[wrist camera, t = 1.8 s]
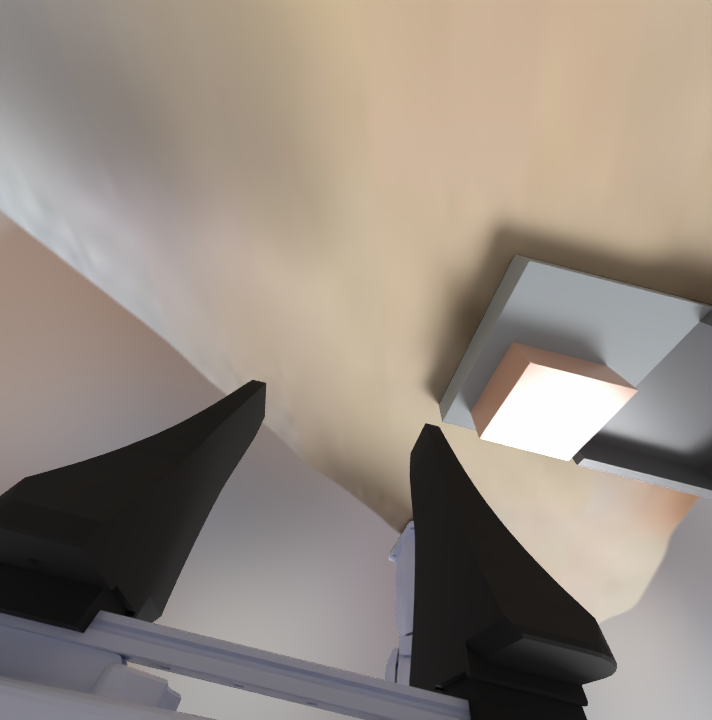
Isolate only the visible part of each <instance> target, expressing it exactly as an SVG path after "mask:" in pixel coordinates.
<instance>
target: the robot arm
mask: <svg viewBox="0 0 712 720" xmlns="http://www.w3.org/2000/svg"><path fill="white" fill-rule="evenodd" d="M265 398H266V383H264V382H260V381H256V380H251V381H250V382H248V383H247V384H245V385H243V386H242V387H240V388H239V389H237V390H236V391H234V392H233V393H231V394H229V395H228V396H226V397H225V398H223V399H221V400H220V401H218V402H217V403H215V404H213V405H212V406H210V407H208V408H207V409H205V410H203V411H201V412H199V413H198V414H196V415H194V416H192V417H190V418H189V419H187V420H185V421H183V422H181V423H179V424H177V425H175V426H173V427H171V428H169V429H166V430H164V431H162V432H160V433H158V434H155V435H153V436H151V437H148V438H145V439H143V440H141V441H138V442H135V443H133V444H131V445H128V446H126V447H123V448H120V449H117V450H115V451H112V452H109V453H106V454H103V455H100V456H97V457H94V458H91V459H88V460H85V461H82V462H78V463H75V464H72V465H68V466H65V467H61V468H58V469H54V470H51V471H48V472H44V473H40V474H37V475H33V476H29V477H25V478H24V479H22V480H21V481H20V482H18V483H17V484H16V485H14V486H13V487H12V488H10V489H9V490H8V491H6V492H5V493H4V494H2V495H1V496H0V720H216V719H211V718H206V717H202V716H197V715H192V714H187V713H182V712H177V711H176V710H177V707H178V705H179V703H180V700H181V696H180V694H179V693H177V692H175V691H173V690H172V689H170V688H169V687H168V682H167V680H166V679H163V678H160V677H157V676H155V675H152V674H149V673H146V672H143V671H140V670H137V669H134V668H132V667H128V665H127V662H131V663H136V664H140V665H144V666H148V667H152V668H156V669H160V670H164V671H168V672H172V673H177V674H181V675H185V676H189V677H193V678H197V679H201V680H205V681H209V682H213V683H217V684H221V685H225V686H230V687H234V688H238V689H242V690H247V691H250V692H255V693H259V694H262V695H266V696H270V697H275V698H279V699H283V700H287V701H291V702H295V703H299V704H303V705H307V706H311V707H315V708H320V709H324V710H328V711H332V712H336V713H340V714H344V715H348V716H352V717H357V718H360V719H364V720H587V719H586V716H585V713H584V711H583V707H582V706H588V701H587V698H586V695H585V693H584V690H583V688H582V685H583V684H586V683H590V682H593V681H597V680H600V679H604V678H606V677H609V676H611V675H612V674H613V673H614V672H615V671H616V669H617V663H616V661H615V659H614V657H613V654H612V653H611V650H610V648H609V646H608V644H607V642H606V640H605V638H604V636H603V634H602V631H601V629H600V627H599V625H598V623H597V621H596V619H595V618H594V617H593V616H592V615H591V614H590V613H589V612H588V611H587V610H585V609H584V608H583V607H582V606H581V605H580V604H579V603H578V602H577V601H576V600H575V599H574V598H573V597H572V596H571V595H570V594H568V593H567V592H566V591H565V590H564V589H563V588H562V587H561V586H560V585H559V584H558V583H557V582H556V581H555V580H554V579H553V578H552V577H551V576H550V575H549V574H548V573H547V572H546V571H545V570H544V569H543V568H542V567H541V566H540V565H539V564H538V563H537V562H536V561H535V560H534V558H533V557H532V556H531V555H530V554H529V553H528V552H527V551H526V550H525V549H524V548H523V546H522V545H521V544H520V543H519V542H518V541H517V540H516V538H515V537H514V536H513V535H512V534H511V533H510V532H509V530H508V529H507V528H506V527H505V526H504V524H503V523H502V522H501V521H500V519H499V518H498V517H497V516H496V514H495V513H494V512H493V510H492V509H491V508H490V507H489V505H488V504H487V503H486V501H485V500H484V499H483V497H482V496H481V494H480V493H479V491H478V490H477V488H476V487H475V486H474V484H473V483H472V481H471V480H470V478H469V477H468V475H467V473H466V472H465V470H464V469H463V467H462V465H461V464H460V462H459V461H458V459H457V457H456V455H455V454H454V452H453V450H452V449H451V447H450V445H449V443H448V442H447V440H446V438H445V436H444V434H443V433H442V431H441V429H440V428H439V427H438V426H434V425H430V424H426V423H425V425H424V427H423V429H422V431H421V433H420V435H419V438H418V440H417V442H416V444H415V446H414V448H413V450H412V452H411V456H410V485H411V497H412V508H413V520H414V521H410V522H409V523H408V525H407V526H406V528H405V529H404V531H403V533H402V534H401V536H400V538H399V539H398V541H397V542H396V544H395V546H394V547H393V549H392V550H391V552H390V554H389V556H388V558H389V560H391V561H395V562H396V623H397V627H398V631H399V633H400V635H401V636H399V648H394V649H393V651H392V653H391V655H390V656H389V659H388V661H387V665H386V672H385V680H382V679H378V678H374V677H370V676H366V675H362V674H358V673H354V672H350V671H346V670H342V669H338V668H334V667H329V666H325V665H321V664H317V663H313V662H309V661H305V660H301V659H296V658H293V657H289V656H285V655H281V654H276V653H272V652H268V651H264V650H260V649H256V648H252V647H248V646H244V645H240V644H236V643H232V642H228V641H224V640H220V639H215V638H212V637H207V636H203V635H199V634H195V633H191V632H187V631H183V630H179V629H175V628H171V627H167V626H163V625H159V624H155V623H152V622H154V621H155V620H156V619H158V618H159V617H160V616H161V615H162V613H163V611H164V608H165V606H166V604H167V601H168V599H169V597H170V595H171V592H172V590H173V588H174V586H175V584H176V581H177V579H178V577H179V575H180V573H181V570H182V568H183V566H184V564H185V562H186V560H187V558H188V556H189V553H190V551H191V549H192V547H193V545H194V543H195V541H196V539H197V537H198V535H199V533H200V531H201V529H202V527H203V525H204V523H205V521H206V519H207V517H208V515H209V513H210V511H211V509H212V507H213V505H214V503H215V501H216V499H217V497H218V495H219V494H220V492H221V490H222V488H223V487H224V485H225V483H226V482H227V480H228V478H229V477H230V475H231V474H232V472H233V471H234V469H235V468H236V466H237V464H238V463H239V461H240V460H241V458H242V457H243V455H244V454H245V452H246V450H247V449H248V447H249V446H250V444H251V442H252V441H253V439H254V437H255V436H256V434H257V432H258V430H259V428H260V426H261V423H262V421H263V419H264V417H265ZM126 661H127V662H126Z"/></svg>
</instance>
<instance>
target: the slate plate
mask: <svg viewBox="0 0 712 720" xmlns="http://www.w3.org/2000/svg"><path fill="white" fill-rule="evenodd" d="M711 309H712V307H709V306H706V305H703V304H700V303H697V302H694V301H691V300H688V299H685V298H682V297H679V296H675V295H672V294H668V293H664V292H660V291H656V290H652V289H648V288H644V287H640V286H636V285H633V284H629V283H625V282H621V281H617V280H613V279H609V278H605V277H601V276H598V275H594V274H590V273H586V272H582V271H578V270H574V269H570V268H566V267H562V266H559V265H555V264H551V263H547V262H543V261H539V260H535V259H531V258H527V257H523V256H520V255H516V254H515V255H514V257H513V259H512V261H511V263H510V265H509V267H508V269H507V271H506V273H505V275H504V277H503V279H502V281H501V283H500V285H499V287H498V289H497V291H496V293H495V295H494V297H493V299H492V301H491V303H490V305H489V307H488V309H487V311H486V313H485V315H484V317H483V318H482V320H481V322H480V324H479V326H478V328H477V330H476V332H475V334H474V336H473V338H472V340H471V342H470V344H469V346H468V348H467V350H466V352H465V354H464V356H463V358H462V360H461V362H460V364H459V366H458V368H457V370H456V372H455V374H454V376H453V378H452V380H451V382H450V384H449V386H448V388H447V390H446V392H445V394H444V396H443V398H442V399H441V401H440V403H439V408H440V413H441V417H442V422H445V423H449V424H453V425H457V426H461V427H464V428H468V429H472V430H476V428H475V425H474V422H473V419H472V416H471V413H470V412H471V410H472V409H473V407H474V405H475V404H476V402H477V400H478V399H479V397H480V395H481V394H482V392H483V390H484V389H485V387H486V385H487V384H488V382H489V380H490V379H491V377H492V375H493V374H494V372H495V370H496V369H497V367H498V365H499V364H500V362H501V360H502V359H503V357H504V355H505V354H506V352H507V350H508V349H509V347H510V345H511V344H512V342H516V343H520V344H524V345H528V346H532V347H536V348H539V349H543V350H547V351H551V352H555V353H559V354H563V355H567V356H571V357H575V358H579V359H583V360H587V361H590V362H594V363H598V364H602V365H606V366H608V367H609V368H611V369H612V370H613V371H615V372H616V373H617V374H618V375H620V376H621V377H622V378H624V379H625V380H626V381H627V382H629V383H630V384H631V385H632V386H634V387H636V386H637V385H638V384H639V383H640V382H641V381H642V380H643V379H644V378H645V377H646V376H647V375H648V374H649V373H650V372H651V370H652V369H653V368H654V367H655V366H656V365H657V364H658V363H659V362H660V361H661V360H662V359H663V358H664V357H665V356H666V355H667V354H668V353H669V352H670V351H671V350H672V349H673V348H674V347H675V346H676V345H677V344H678V343H679V342H680V341H681V340H682V339H683V338H684V337H685V336H686V335H687V334H688V333H689V332H690V331H691V330H692V329H693V328H694V327H695V326H696V325H697V324H698V322H699V321H700V320H701V319H702V318H703V317H704V316H705V315H706V314H707V313H708V312H709V311H710V310H711ZM476 431H477V430H476Z"/></svg>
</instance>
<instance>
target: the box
mask: <svg viewBox="0 0 712 720" xmlns="http://www.w3.org/2000/svg"><path fill="white" fill-rule="evenodd" d="M682 298H683V297H682ZM685 299H687V298H685ZM688 300H691V299H688ZM691 301H694V302H697V303H700V304H703V305H706V306H709V307H712V305H710V304H707V303H703V302H699V301H695V300H691ZM635 388H636V389H638V390H639V391H638V392H637V393H636V394H635V395H634V396H633V397H632V398H631V399H630V400H629V401H628V402H627V403H626V404H625V405H624V406H623V407H622V408H621V409H620V410H619V411H618V412H617V413H616V414H615V415H614V416H613V417H612V418H611V419H610V420H609V421H608V422H607V423H606V424H605V425H604V426H603V427H602V428H601V429H600V430H599V431H598V432H597V433H596V434H595V435H594V436H593V437H592V438H591V439H590V440H589V441H588V442H587V443H586V444H585V445H584V446H583V447H582V448H581V449H580V450H579V451H578V452H577V453H576V454H575V455H574V456H573V457H572V458H573V460H574V461H575V463H576V464H577V465H578V466H582V467H586V468H590V469H594V470H598V471H602V472H606V473H610V474H614V475H618V476H622V477H626V478H630V479H634V480H638V481H642V482H646V483H650V484H654V485H658V486H661V487H665V488H669V489H673V490H677V491H681V492H685V493H689V494H693V495H697V496H701V497H705V498H709V499H712V309H711V310H710V311H709V312H708V313H707V314H706V315H705V316H704V317H703V318H702V319H701V320H700V321H699V322H698V324H697V325H696V326H695V327H694V328H693V329H692V330H691V331H690V332H689V333H688V334H687V335H686V336H685V337H684V338H683V339H682V340H681V341H680V342H679V343H678V344H677V345H676V346H675V347H674V348H673V349H672V350H671V351H670V352H669V353H668V354H667V355H666V356H665V357H664V358H663V359H662V360H661V361H660V362H659V363H658V364H657V365H656V366H655V367H654V368H653V369H652V370H651V372H650V373H649V374H648V375H647V376H646V377H645V378H644V379H643V380H642V381H641V382H640V383H639V384H638V385H637V386H636V387H635Z"/></svg>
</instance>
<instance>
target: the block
mask: <svg viewBox="0 0 712 720" xmlns="http://www.w3.org/2000/svg"><path fill="white" fill-rule="evenodd" d="M638 391H639V390H638V389H636V388H635V387H634V386H632V385H631V384H630V383H629V382H627V381H626V380H625V379H624V378H622V377H621V376H620V375H618V374H617V373H616V372H615V371H613V370H612V369H611V368H609V367H608V366H606V365H602V364H598V363H594V362H590V361H587V360H583V359H579V358H575V357H571V356H567V355H563V354H559V353H555V352H551V351H547V350H543V349H539V348H536V347H532V346H528V345H524V344H520V343H516V342H512V344H511V345H510V347H509V349H508V350H507V352H506V354H505V355H504V357H503V359H502V360H501V362H500V364H499V365H498V367H497V369H496V370H495V372H494V374H493V375H492V377H491V379H490V380H489V382H488V384H487V385H486V387H485V389H484V390H483V392H482V394H481V395H480V397H479V399H478V400H477V402H476V404H475V405H474V407H473V409H472V410H471V412H470V413H471V416H472V419H473V422H474V425H475V428H476V430H477V433H478V436H479V438H480V439H484V440H488V441H492V442H496V443H500V444H504V445H507V446H511V447H515V448H519V449H523V450H527V451H531V452H535V453H539V454H543V455H547V456H551V457H555V458H559V459H563V460H567V461H569V460H570V459H571V458H572V457H573V456H574V455H575V454H576V453H577V452H578V451H579V450H580V449H581V448H582V447H583V446H584V445H585V444H586V443H587V442H588V441H589V440H590V439H591V438H592V437H593V436H594V435H595V434H596V433H597V432H598V431H599V430H600V429H601V428H602V427H603V426H604V425H605V424H606V423H607V422H608V421H609V420H610V419H611V418H612V417H613V416H614V415H615V414H616V413H617V412H618V411H619V410H620V409H621V408H622V407H623V406H624V405H625V404H626V403H627V402H628V401H629V400H630V399H631V398H632V397H633V396H634V395H635V394H636V393H637V392H638Z"/></svg>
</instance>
